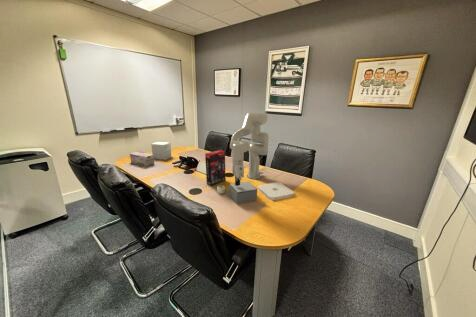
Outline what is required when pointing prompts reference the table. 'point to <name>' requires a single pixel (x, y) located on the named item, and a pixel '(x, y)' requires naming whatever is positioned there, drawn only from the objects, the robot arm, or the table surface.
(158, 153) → the supplement box
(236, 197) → the carton
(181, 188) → the table surface
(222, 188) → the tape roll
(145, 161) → the surgical sutures box
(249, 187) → the lid
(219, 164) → the graphics card box
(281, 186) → the computer
